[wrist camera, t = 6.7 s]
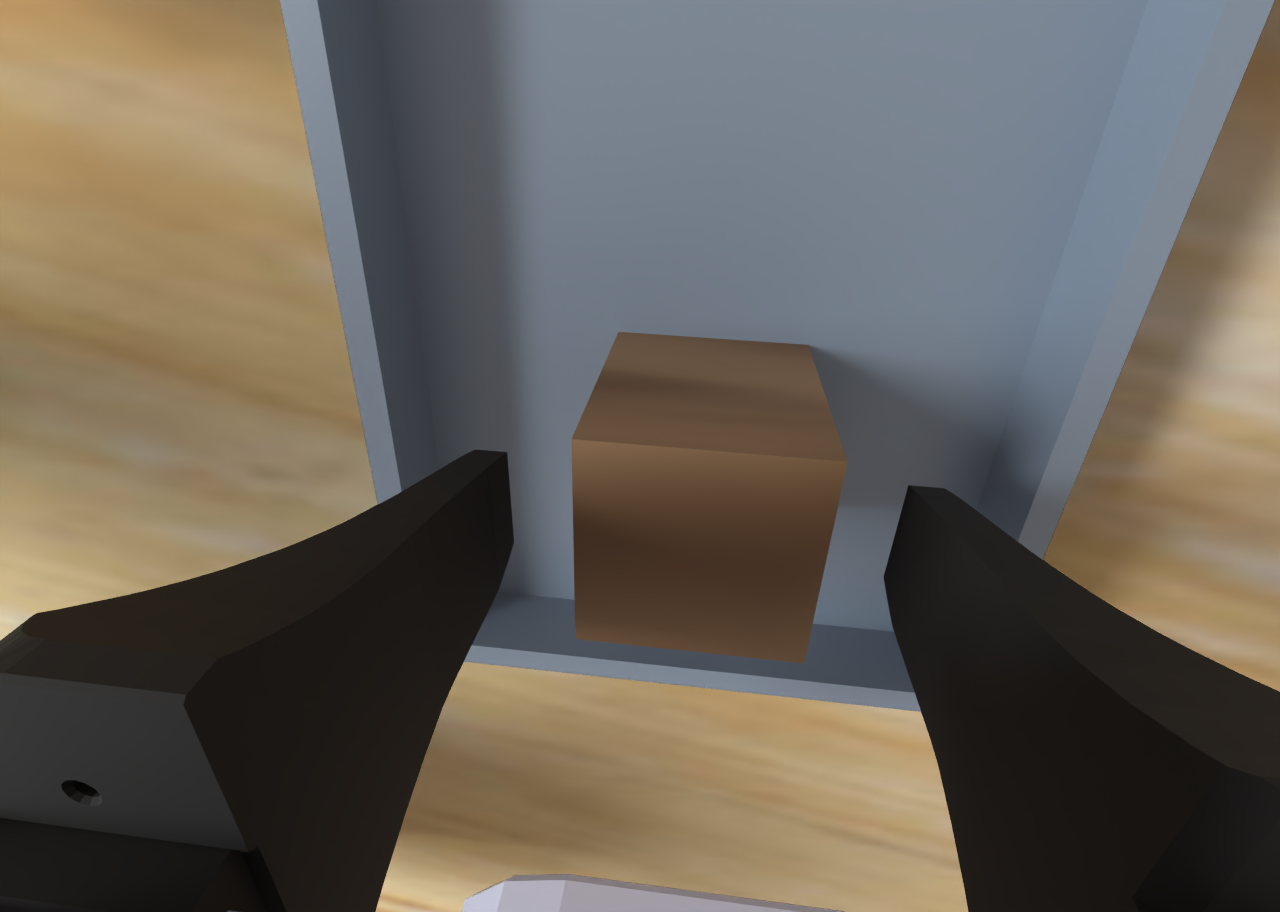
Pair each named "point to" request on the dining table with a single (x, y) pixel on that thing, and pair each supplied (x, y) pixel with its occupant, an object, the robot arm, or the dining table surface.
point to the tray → (756, 250)
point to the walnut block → (704, 497)
